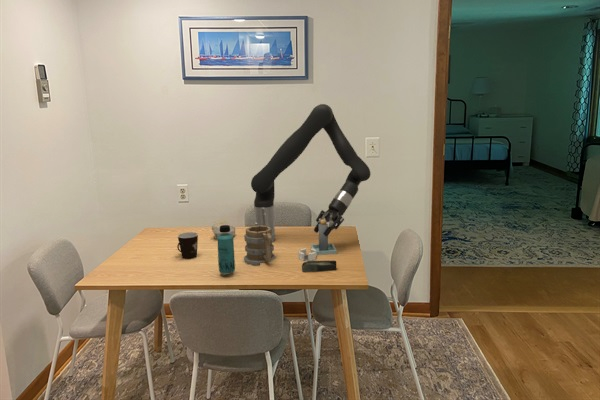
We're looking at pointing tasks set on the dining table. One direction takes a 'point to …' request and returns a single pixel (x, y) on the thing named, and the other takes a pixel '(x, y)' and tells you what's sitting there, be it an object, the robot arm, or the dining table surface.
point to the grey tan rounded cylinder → (323, 236)
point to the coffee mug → (188, 245)
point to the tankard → (259, 245)
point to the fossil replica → (217, 228)
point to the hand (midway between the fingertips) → (320, 233)
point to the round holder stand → (304, 257)
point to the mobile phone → (318, 266)
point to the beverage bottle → (226, 251)
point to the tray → (330, 251)
